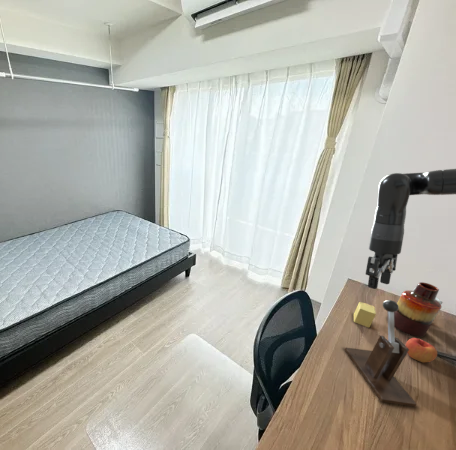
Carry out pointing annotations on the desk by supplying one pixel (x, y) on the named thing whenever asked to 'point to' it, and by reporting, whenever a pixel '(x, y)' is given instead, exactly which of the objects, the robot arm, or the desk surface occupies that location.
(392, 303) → the ball knob lever
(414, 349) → the apple
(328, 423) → the desk surface
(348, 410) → the desk surface
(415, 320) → the vase
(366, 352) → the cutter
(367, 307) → the butter
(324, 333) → the desk surface
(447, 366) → the desk surface
